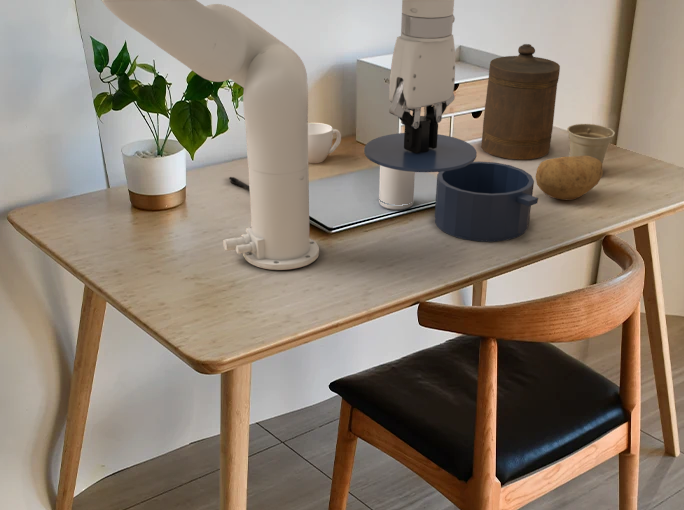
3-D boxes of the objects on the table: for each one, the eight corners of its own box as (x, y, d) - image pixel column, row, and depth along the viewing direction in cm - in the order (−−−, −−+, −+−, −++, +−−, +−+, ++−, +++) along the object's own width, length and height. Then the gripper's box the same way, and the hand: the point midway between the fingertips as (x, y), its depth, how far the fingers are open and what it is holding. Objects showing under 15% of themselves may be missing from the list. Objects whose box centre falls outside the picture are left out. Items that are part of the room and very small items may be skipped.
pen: (225, 181, 182) (225, 176, 182) (232, 180, 183) (232, 174, 183) (264, 203, 173) (263, 197, 172) (271, 201, 174) (271, 195, 173)
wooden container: (559, 145, 204) (572, 42, 192) (534, 164, 193) (547, 56, 181) (497, 134, 210) (506, 33, 198) (470, 152, 199) (478, 47, 187)
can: (395, 195, 177) (397, 133, 170) (420, 204, 173) (423, 142, 167) (371, 204, 173) (373, 141, 167) (396, 213, 169) (399, 150, 163)
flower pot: (614, 170, 191) (621, 128, 186) (598, 183, 184) (605, 140, 179) (571, 161, 195) (577, 120, 190) (554, 173, 188) (560, 132, 184)
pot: (495, 255, 154) (500, 207, 150) (405, 215, 168) (407, 170, 164) (558, 230, 164) (565, 184, 159) (468, 194, 178) (471, 151, 173)
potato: (612, 200, 176) (619, 160, 172) (550, 211, 171) (556, 170, 167) (581, 183, 184) (587, 144, 179) (522, 193, 179) (526, 153, 174)
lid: (419, 184, 135) (421, 144, 132) (341, 153, 146) (341, 115, 143) (499, 159, 145) (503, 121, 142) (420, 132, 156) (422, 96, 153)
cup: (290, 156, 195) (289, 125, 191) (332, 150, 199) (332, 119, 195) (305, 168, 189) (304, 135, 185) (348, 161, 193) (349, 129, 189)
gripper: (447, 15, 142) (439, 133, 152) (368, 29, 133) (365, 153, 143) (483, 23, 137) (473, 144, 147) (404, 38, 128) (398, 166, 138)
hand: (420, 147), depth 145 cm, fingers closed on lid, 2 cm apart
